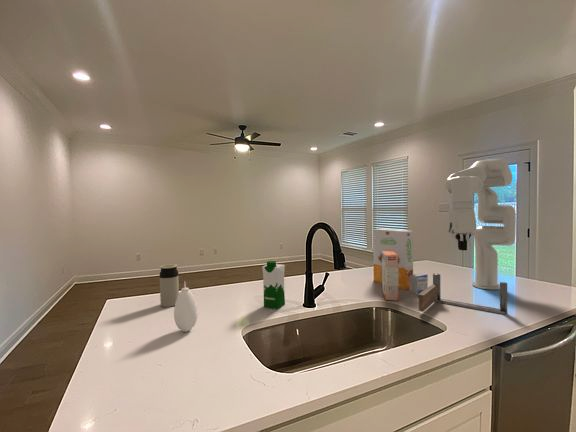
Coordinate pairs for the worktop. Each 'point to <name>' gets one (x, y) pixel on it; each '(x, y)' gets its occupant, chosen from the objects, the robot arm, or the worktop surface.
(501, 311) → the gate frame
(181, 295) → the white air blower bulb
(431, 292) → the gate
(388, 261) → the cracker box
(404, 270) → the cereal box
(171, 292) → the travel mug
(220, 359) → the worktop surface
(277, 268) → the milk carton
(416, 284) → the medicine box
